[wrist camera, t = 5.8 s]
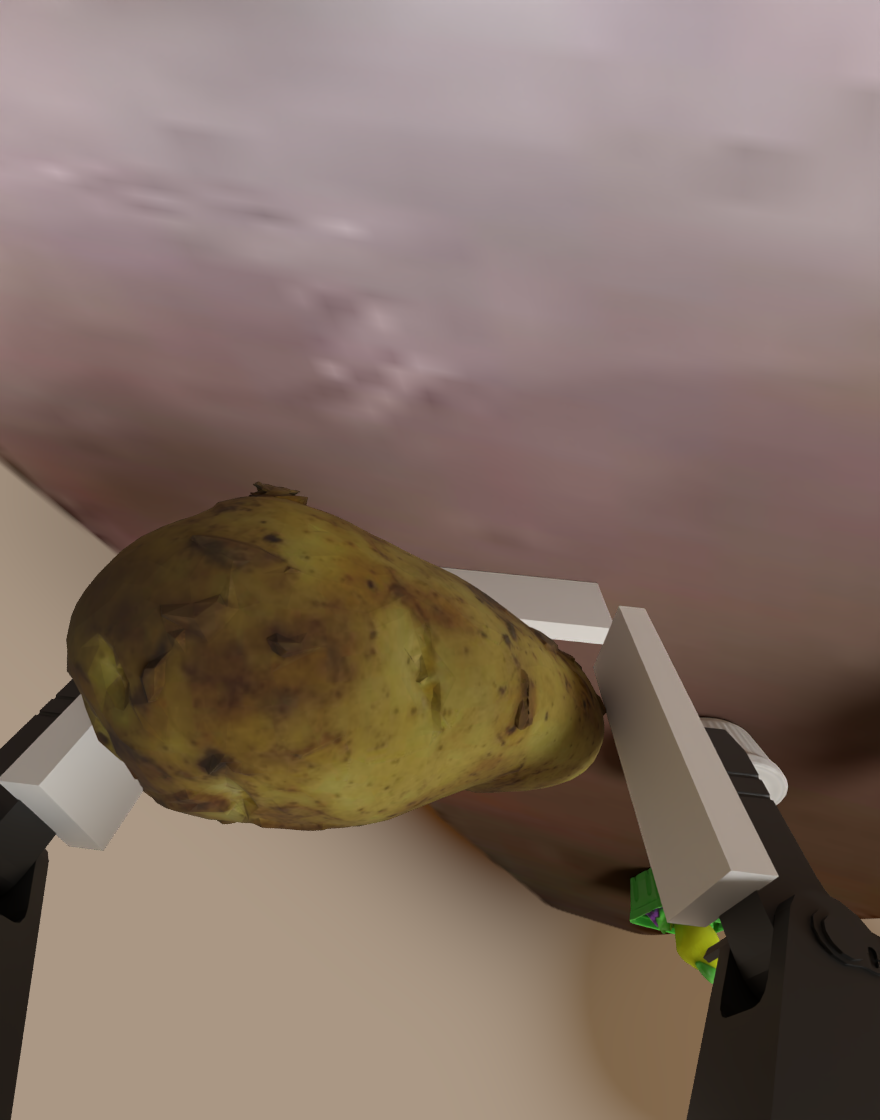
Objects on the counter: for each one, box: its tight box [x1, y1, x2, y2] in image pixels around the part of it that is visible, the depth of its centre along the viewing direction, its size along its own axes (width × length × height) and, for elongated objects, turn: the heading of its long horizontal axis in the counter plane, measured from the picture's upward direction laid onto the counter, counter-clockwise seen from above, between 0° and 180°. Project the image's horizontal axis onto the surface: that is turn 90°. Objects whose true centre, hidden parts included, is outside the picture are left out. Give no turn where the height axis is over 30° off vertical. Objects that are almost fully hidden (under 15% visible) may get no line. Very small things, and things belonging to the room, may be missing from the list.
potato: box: [66, 482, 607, 831], centre depth 10 cm, size 8×13×8 cm, turn 31°
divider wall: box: [440, 567, 612, 644], centre depth 30 cm, size 2×24×5 cm, turn 86°
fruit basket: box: [630, 868, 724, 984], centre depth 55 cm, size 11×9×11 cm
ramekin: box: [700, 718, 788, 805], centre depth 39 cm, size 11×11×5 cm
